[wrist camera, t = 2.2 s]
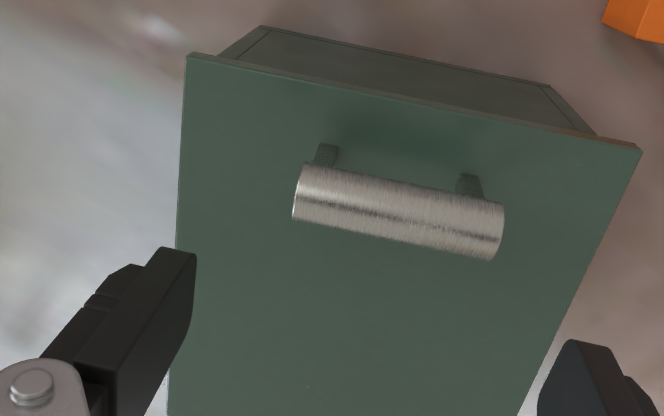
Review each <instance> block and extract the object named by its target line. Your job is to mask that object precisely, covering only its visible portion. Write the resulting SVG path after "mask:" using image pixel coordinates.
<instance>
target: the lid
mask: <svg viewBox="0 0 664 416" xmlns="http://www.w3.org/2000/svg"><path fill="white" fill-rule="evenodd" d="M642 153H643V151H642V150H641V149H640V148H639V147H638V146H637V145H636V144H634V143H630V142H625V141H620V140H616V139H611V138H606V137H601V136H596V135H592V134H587V133H582V132H577V131H572V130H568V129H563V128H558V127H553V126H548V125H544V124H539V123H534V122H529V121H524V120H520V119H515V118H510V117H505V116H500V115H496V114H491V113H486V112H481V111H477V110H472V109H467V108H462V107H457V106H453V105H448V104H443V103H438V102H433V101H429V100H424V99H419V98H414V97H409V96H405V95H400V94H395V93H390V92H385V91H381V90H376V89H371V88H366V87H361V86H357V85H352V84H347V83H342V82H338V81H333V80H328V79H323V78H318V77H314V76H309V75H304V74H299V73H294V72H290V71H285V70H280V69H275V68H270V67H266V66H261V65H256V64H251V63H246V62H242V61H237V60H232V59H227V58H222V57H218V56H213V55H208V54H203V53H199V52H191V53H190V54H188V55H186V57H185V72H184V90H183V108H182V127H181V145H180V163H179V182H178V200H177V219H176V237H175V249H176V250H181V251H185V252H190V253H194V254H196V256H197V269H196V280H195V291H194V302H193V312H192V318H191V322H190V326H189V329H188V332H187V335H186V337H185V339H184V341H183V343H182V345H181V347H180V349H179V351H178V353H177V354H176V356H175V358H174V360H173V362H172V364H171V366H170V368H169V369H168V384H167V402H166V415H167V416H517V414H518V412H519V410H520V408H521V406H522V404H523V402H524V400H525V397H526V395H527V393H528V391H529V389H530V387H531V385H532V383H533V381H534V379H535V377H536V375H537V372H538V370H539V368H540V366H541V364H542V362H543V360H544V358H545V356H546V354H547V352H548V349H549V347H550V345H551V343H552V341H553V339H554V337H555V335H556V333H557V331H558V329H559V327H560V324H561V322H562V320H563V318H564V316H565V314H566V312H567V310H568V308H569V306H570V304H571V302H572V299H573V297H574V295H575V293H576V291H577V289H578V287H579V285H580V283H581V281H582V279H583V277H584V274H585V272H586V270H587V268H588V266H589V264H590V262H591V260H592V258H593V256H594V254H595V252H596V249H597V247H598V245H599V243H600V241H601V239H602V237H603V235H604V233H605V231H606V229H607V226H608V224H609V222H610V220H611V218H612V216H613V214H614V212H615V210H616V208H617V206H618V204H619V201H620V199H621V197H622V195H623V193H624V191H625V189H626V187H627V185H628V183H629V181H630V179H631V176H632V174H633V172H634V170H635V168H636V166H637V164H638V162H639V160H640V158H641V156H642Z"/></svg>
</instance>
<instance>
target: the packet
mask: <svg viewBox="0 0 664 416" xmlns="http://www.w3.org/2000/svg"><path fill="white" fill-rule="evenodd" d="M601 22H602V23H604V24H606V25H608V26H610V27H612V28H614V29H616V30H618V31H620V32H622V33H625V34H627V35H629V36H631V37H633V38H635V39H640V40H644V41H649V42H654V43H659V44H664V0H609V2H608V4H607V7H606V9H605V12H604V14H603V17H602V20H601Z"/></svg>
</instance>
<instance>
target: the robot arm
mask: <svg viewBox="0 0 664 416" xmlns="http://www.w3.org/2000/svg"><path fill="white" fill-rule="evenodd" d="M196 269H197V256H196V254H194V253H190V252H185V251H181V250H176V249H172V248H167V247H163V246H162V247H160V248H159V249H158V250H157V251H156V252H155V254H154V255H153V256H152V258H151V259H150V260H149V261H148V263H147V264H146V265H145V267H143V266H139V265H134V264H129V265H127V266H125V267H123V268H121V269H120V270H118V271H116V272H114V273H112V274H110V275H109V276H108V277H107V278H106V279H105V281H104V282H103V283H102V284H101V285H100V286H99V288H98V289H97V290H96V292H95V294H93V295H92V296H91V297H90V298H89V299H88V300H87V302H86V303H85V304H84V307H83V308H81V309H80V310H79V311H78V312H77V313H76V315H75V316H74V317H73V318H72V319H71V320H70V322H69V323H68V324H67V325H66V326H65V327H64V329H63V330H62V331H61V332H60V333H59V334H58V336H57V337H56V338H55V339H54V340H53V341H52V343H51V344H50V345H49V346H48V347H47V348H46V350H45V351H44V352H43V353H42V354H41V356H40V357H39V358H35V359H29V360H25V361H21V362H18V363H15V364H13V365H11V366H9V367H7V368H5V369H3V370H2V371H0V416H144V414H145V413H146V411H147V409H148V407H149V405H150V403H151V401H152V399H153V398H154V396H155V394H156V392H157V390H158V388H159V386H160V384H161V383H162V381H163V379H164V377H165V375H166V373H167V371H168V369H169V368H170V366H171V364H172V362H173V360H174V358H175V356H176V354H177V353H178V351H179V349H180V347H181V345H182V343H183V341H184V339H185V337H186V335H187V332H188V329H189V326H190V322H191V318H192V312H193V302H194V291H195V280H196ZM537 416H660V415H659V413H658V411H657V409H656V407H655V406H654V404H653V402H652V400H651V398H650V397H649V396H648V395H647V394H646V393H645V392H644V391H643V390H642V389H641V388H640V387H639V385H638V384H637V383H636V382H635V381H634V380H633V379H632V378H631V377H628V376H624V375H623V373H622V371H621V369H620V367H619V365H618V363H617V361H616V359H615V357H614V355H613V353H612V352H611V350H610V349H609V348H608V347H605V346H600V345H596V344H591V343H587V342H582V341H578V340H573V339H569V340H568V341H566V342H565V344H564V345H563V347H562V349H561V351H560V353H559V355H558V357H557V359H556V361H555V363H554V365H553V367H552V369H551V371H550V373H549V375H548V377H547V379H546V381H545V383H544V385H543V387H542V389H541V391H540V394H539V398H538V403H537Z"/></svg>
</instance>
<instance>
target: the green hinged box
mask: <svg viewBox="0 0 664 416" xmlns="http://www.w3.org/2000/svg"><path fill="white" fill-rule="evenodd" d="M217 56H218V57H222V58H227V59H232V60H237V61H242V62H246V63H251V64H256V65H261V66H266V67H270V68H275V69H280V70H285V71H290V72H294V73H299V74H304V75H309V76H314V77H318V78H323V79H328V80H333V81H338V82H342V83H347V84H352V85H357V86H361V87H366V88H371V89H376V90H381V91H385V92H390V93H395V94H400V95H405V96H409V97H414V98H419V99H424V100H429V101H433V102H438V103H443V104H448V105H453V106H457V107H462V108H467V109H472V110H477V111H481V112H486V113H491V114H496V115H500V116H505V117H510V118H515V119H520V120H524V121H529V122H534V123H539V124H544V125H548V126H553V127H558V128H563V129H568V130H572V131H577V132H582V133H587V134H592V135H596V136H598V135H597V134H596V133H595V132H594V131H593V130H592V129H591V128H590V127H589V126H588V125H587V123H586V122H585V121H584V120H583V119H582V118H581V117H580V116H579V115H578V114H577V113H576V112H575V111H574V110H573V109H572V108H571V107H570V106H569V104H568V103H567V102H566V101H565V100H564V99H563V98H562V97H561V96H560V95H559V94H558V93H557V92H556V91H555V90H554V89H553V88H552V87H551V86H550V85H546V84H542V83H537V82H532V81H527V80H522V79H518V78H513V77H508V76H503V75H498V74H493V73H489V72H484V71H479V70H474V69H469V68H465V67H460V66H455V65H450V64H445V63H440V62H436V61H431V60H426V59H421V58H416V57H412V56H407V55H402V54H397V53H392V52H387V51H383V50H378V49H373V48H368V47H363V46H359V45H354V44H349V43H344V42H339V41H334V40H330V39H325V38H320V37H315V36H310V35H306V34H301V33H296V32H291V31H286V30H281V29H277V28H272V27H267V26H262V25H260V26H258V27H257V28H255V29H254V30H252V31H251V32H250V33H248V34H247V35H245V36H244V37H242V38H241V39H240V40H238V41H237V42H235V43H234V44H233V45H231V46H230V47H228V48H227V49H226V50H224V51H223V52H221V53H220V54H219V55H217Z"/></svg>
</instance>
